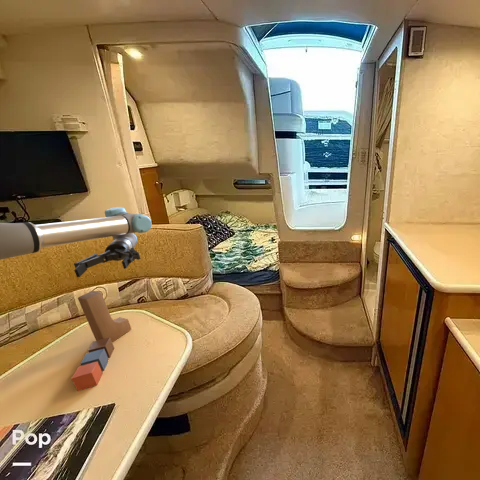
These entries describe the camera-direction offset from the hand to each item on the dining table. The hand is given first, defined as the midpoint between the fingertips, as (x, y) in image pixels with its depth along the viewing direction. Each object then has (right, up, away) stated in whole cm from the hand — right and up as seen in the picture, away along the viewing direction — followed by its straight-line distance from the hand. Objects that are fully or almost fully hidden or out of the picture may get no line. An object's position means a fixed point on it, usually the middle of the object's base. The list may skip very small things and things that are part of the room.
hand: (101, 269), depth 93 cm
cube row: (+10, -28, -14) cm, 33 cm away
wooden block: (+6, -23, -1) cm, 24 cm away
